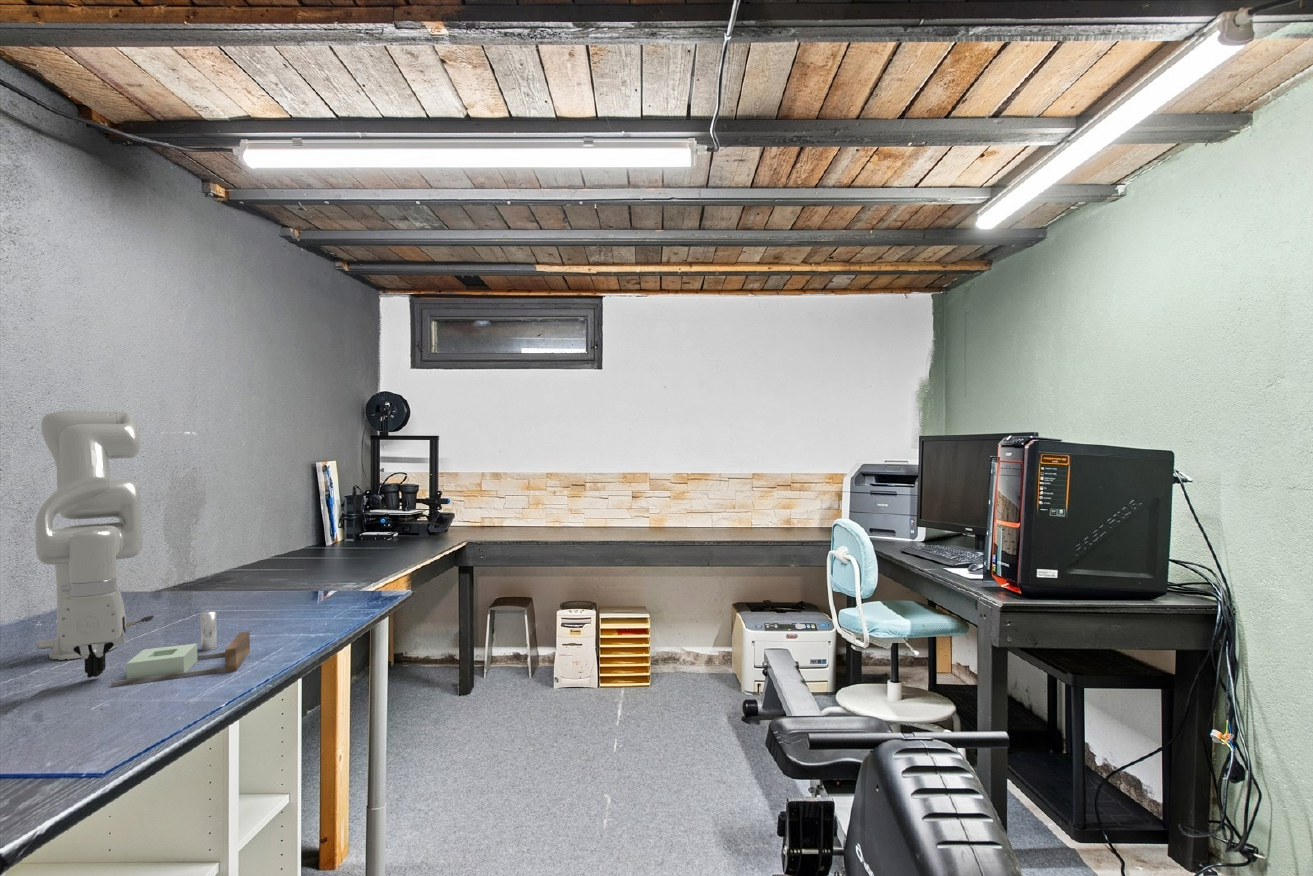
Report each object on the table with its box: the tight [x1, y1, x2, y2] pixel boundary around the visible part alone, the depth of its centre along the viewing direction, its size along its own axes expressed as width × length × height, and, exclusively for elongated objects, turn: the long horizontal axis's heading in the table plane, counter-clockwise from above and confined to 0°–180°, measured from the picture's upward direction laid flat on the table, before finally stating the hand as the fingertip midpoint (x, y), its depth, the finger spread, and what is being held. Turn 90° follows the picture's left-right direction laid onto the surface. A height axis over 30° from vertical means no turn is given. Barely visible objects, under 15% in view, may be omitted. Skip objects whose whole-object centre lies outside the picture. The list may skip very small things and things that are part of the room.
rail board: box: [111, 631, 251, 688], centre depth 143 cm, size 26×14×6 cm, turn 112°
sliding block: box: [125, 643, 198, 679], centre depth 142 cm, size 10×10×4 cm
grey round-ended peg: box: [199, 610, 218, 652], centre depth 158 cm, size 3×3×10 cm
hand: (95, 675), depth 138 cm, fingers closed
